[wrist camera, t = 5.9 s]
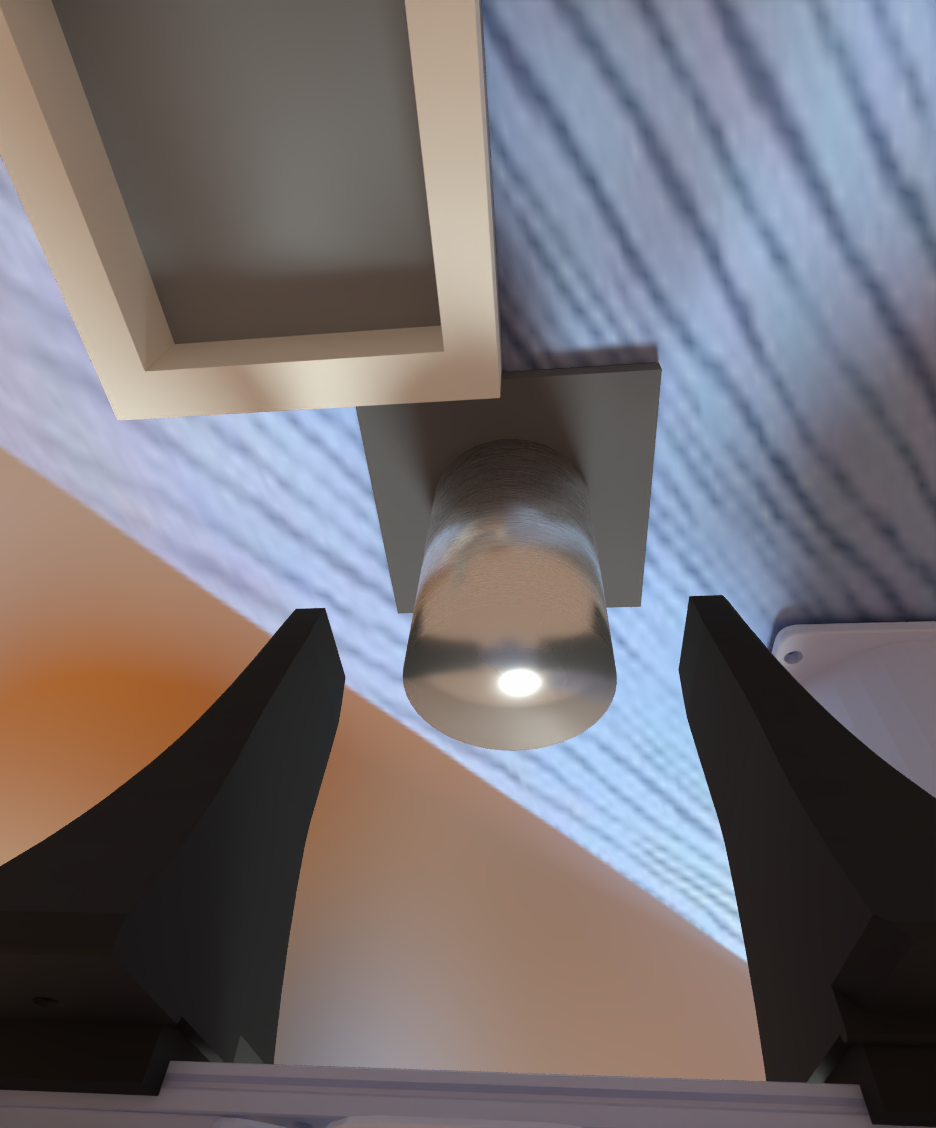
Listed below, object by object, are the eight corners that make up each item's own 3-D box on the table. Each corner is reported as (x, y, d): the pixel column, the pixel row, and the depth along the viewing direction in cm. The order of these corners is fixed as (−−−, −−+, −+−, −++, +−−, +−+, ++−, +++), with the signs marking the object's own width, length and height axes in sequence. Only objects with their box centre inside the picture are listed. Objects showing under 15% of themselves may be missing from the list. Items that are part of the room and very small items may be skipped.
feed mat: (638, 597, 20) (640, 606, 19) (400, 604, 20) (398, 613, 20) (658, 362, 15) (661, 369, 15) (355, 381, 16) (352, 388, 16)
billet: (588, 566, 18) (612, 749, 14) (442, 571, 19) (417, 750, 14) (591, 434, 16) (622, 601, 11) (424, 443, 16) (387, 608, 12)
